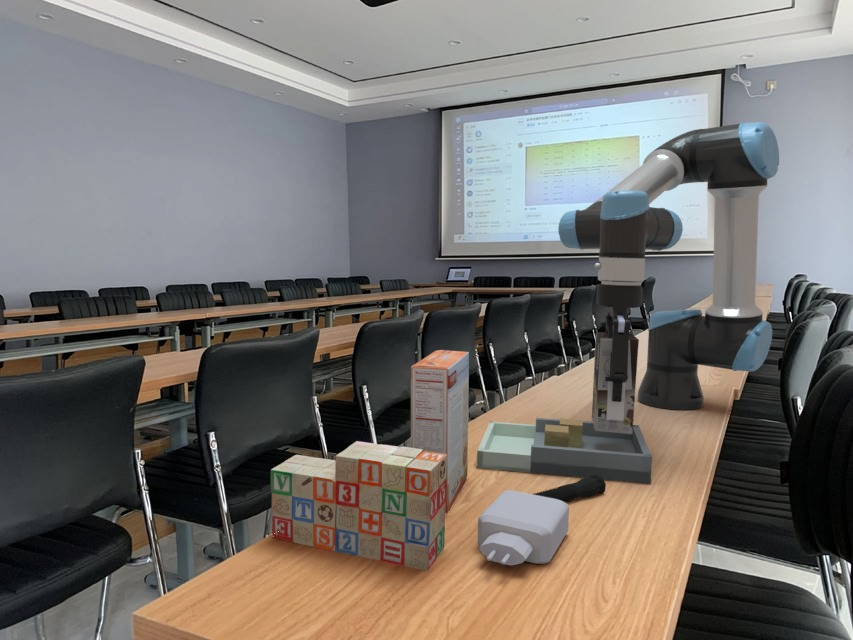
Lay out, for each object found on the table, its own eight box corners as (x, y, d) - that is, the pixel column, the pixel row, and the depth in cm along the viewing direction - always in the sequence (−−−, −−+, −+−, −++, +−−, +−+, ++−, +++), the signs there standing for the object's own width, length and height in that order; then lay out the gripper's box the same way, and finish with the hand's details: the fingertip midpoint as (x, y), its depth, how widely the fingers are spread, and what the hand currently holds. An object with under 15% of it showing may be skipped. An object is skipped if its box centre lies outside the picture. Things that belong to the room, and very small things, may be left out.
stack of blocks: (270, 539, 77) (269, 445, 76) (296, 519, 83) (296, 431, 82) (429, 572, 70) (431, 468, 69) (446, 547, 76) (448, 452, 75)
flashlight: (605, 496, 93) (606, 477, 93) (524, 521, 84) (525, 500, 84) (590, 490, 96) (591, 471, 95) (510, 513, 87) (510, 492, 87)
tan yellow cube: (567, 448, 109) (568, 426, 108) (567, 455, 105) (568, 432, 104) (544, 446, 109) (545, 424, 109) (543, 453, 106) (544, 430, 105)
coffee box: (633, 435, 102) (639, 339, 100) (594, 431, 103) (599, 337, 101) (627, 420, 111) (632, 332, 109) (590, 417, 112) (595, 330, 110)
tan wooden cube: (581, 440, 113) (582, 419, 112) (581, 447, 109) (582, 425, 109) (559, 439, 114) (560, 418, 113) (558, 445, 110) (559, 424, 109)
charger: (457, 571, 71) (501, 521, 84) (534, 592, 66) (567, 536, 80) (458, 532, 70) (502, 488, 83) (536, 551, 66) (569, 501, 79)
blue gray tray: (637, 448, 115) (638, 425, 115) (650, 484, 98) (652, 457, 97) (535, 439, 120) (536, 417, 119) (530, 472, 102) (531, 446, 101)
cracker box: (432, 473, 101) (435, 348, 98) (468, 478, 99) (471, 350, 97) (407, 508, 87) (409, 363, 85) (448, 513, 86) (451, 366, 83)
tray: (535, 439, 120) (536, 425, 119) (530, 472, 102) (530, 455, 101) (489, 436, 121) (490, 421, 121) (476, 467, 104) (477, 450, 103)
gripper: (594, 280, 115) (588, 396, 118) (600, 285, 94) (593, 427, 97) (635, 281, 114) (628, 399, 116) (652, 287, 93) (642, 431, 95)
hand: (612, 412), depth 107 cm, fingers closed on coffee box, 9 cm apart
